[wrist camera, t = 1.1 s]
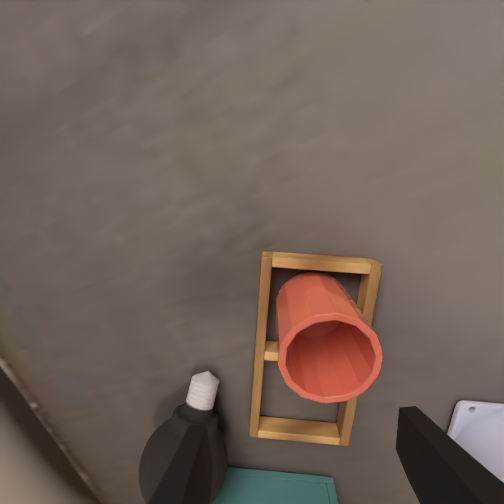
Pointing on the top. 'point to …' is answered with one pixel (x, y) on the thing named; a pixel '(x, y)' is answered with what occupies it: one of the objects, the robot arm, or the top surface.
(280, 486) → the open storage box
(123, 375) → the top surface
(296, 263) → the frame
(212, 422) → the light bulb
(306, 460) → the top surface
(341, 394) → the cup
